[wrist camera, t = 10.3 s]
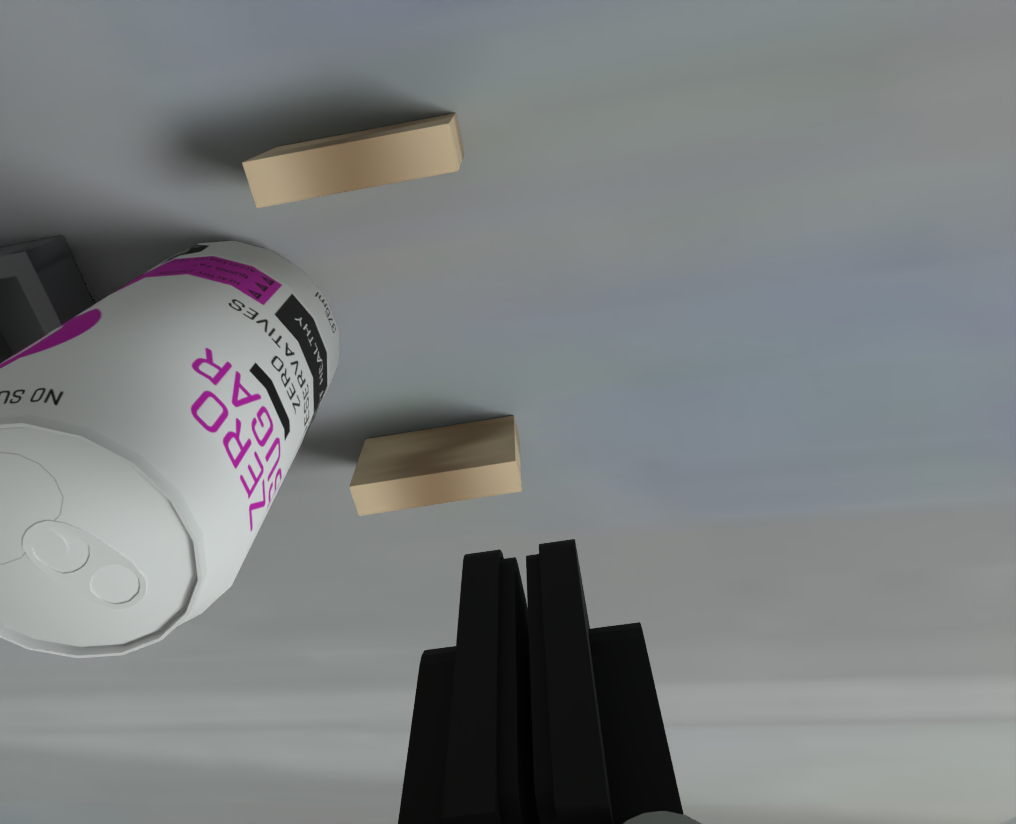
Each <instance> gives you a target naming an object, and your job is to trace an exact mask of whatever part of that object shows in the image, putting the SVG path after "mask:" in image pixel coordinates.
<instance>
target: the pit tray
mask: <svg viewBox="0 0 1016 824" xmlns="http://www.w3.org/2000/svg"><path fill="white" fill-rule="evenodd" d="M93 305H94V302H93V300H92V298H91V296H90V293H89V291H88V289H87V287H86V285H85V283H84V281H83V278H82V276H81V274H80V272H79V270H78V268H77V265H76V263H75V261H74V259H73V257H72V255H71V253H70V250H69V248H68V246H67V244H66V242H65V240H64V237H63V236H57V237H52V238H46V239H41V240H36V241H30V242H25V243H19V244H14V245H9V246H3V247H0V363H2V362H4V361H5V360H7V359H8V358H10V357H11V356H13V355H15V354H16V353H18V352H19V351H21V350H23V349H24V348H26V347H27V346H29V345H31V344H32V343H34V342H35V341H37V340H39V339H40V338H42V337H43V336H45V335H47V334H48V333H50V332H51V331H53V330H55V329H56V328H58V327H59V326H61V325H63V324H64V323H66V322H67V321H69V320H71V319H72V318H74V317H75V316H77V315H78V314H80V313H82V312H83V311H85V310H86V309H88V308H90V307H91V306H93Z"/></svg>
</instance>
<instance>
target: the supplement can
mask: <svg viewBox="0 0 1016 824" xmlns="http://www.w3.org/2000/svg"><path fill="white" fill-rule="evenodd" d="M338 364H339V330H338V328H337V325H336V323H335V320H334V317H333V315H332V312H331V309H330V307H329V304H328V302H327V299H326V298H325V297H324V296H323V294H322V293H321V292H320V291H319V290H318V288H317V287H316V286H315V285H314V283H313V282H312V281H311V280H310V279H309V277H308V276H307V275H306V274H305V273H304V271H302V270H301V269H299V268H298V267H296V266H295V265H293V264H291V263H290V262H288V261H287V260H285V259H284V258H282V257H281V256H279V255H277V254H276V253H274V252H273V251H271V250H268V249H264V248H260V247H256V246H253V245H249V244H245V243H241V242H238V241H223V242H210V243H198V244H196V245H194V246H192V247H190V248H188V249H186V250H184V251H182V252H180V253H178V254H176V255H174V256H172V257H170V258H168V259H166V260H165V261H163V262H161V263H160V264H158V265H157V266H155V267H153V268H152V269H150V270H149V271H147V272H145V273H144V274H142V275H141V276H139V277H137V278H136V279H134V280H133V281H131V282H130V283H128V284H126V285H125V286H123V287H122V288H120V289H118V290H117V291H115V292H114V293H112V294H110V295H109V296H107V297H106V298H104V299H102V300H101V301H99V302H98V303H96V304H94V305H93V306H91V307H90V308H88V309H86V310H85V311H83V312H82V313H80V314H78V315H77V316H75V317H74V318H72V319H71V320H69V321H67V322H66V323H64V324H63V325H61V326H59V327H58V328H56V329H55V330H53V331H51V332H50V333H48V334H47V335H45V336H43V337H42V338H40V339H39V340H37V341H35V342H34V343H32V344H31V345H29V346H27V347H26V348H24V349H23V350H21V351H19V352H18V353H16V354H15V355H13V356H11V357H10V358H8V359H7V360H5V361H4V362H2V363H0V638H3V639H5V640H7V641H10V642H12V643H14V644H17V645H19V646H22V647H24V648H26V649H29V650H35V651H40V652H46V653H51V654H57V655H63V656H68V657H74V658H87V657H102V656H117V655H125V654H127V653H130V652H132V651H135V650H138V649H140V648H143V647H146V646H148V645H151V644H153V643H156V642H159V641H161V640H163V639H164V638H165V637H166V636H167V635H168V634H169V633H170V632H171V631H172V630H173V629H174V628H175V627H177V626H178V625H180V624H182V623H184V622H186V621H188V620H190V619H192V618H194V617H196V616H198V615H200V614H201V613H202V612H204V611H205V610H206V609H207V608H208V607H209V606H210V605H211V604H212V603H213V602H214V601H215V600H217V599H218V598H219V597H220V596H221V595H222V594H223V593H224V592H225V591H226V590H227V589H228V588H230V587H231V586H232V584H233V582H234V580H235V577H236V575H237V573H238V571H239V569H240V567H241V565H242V563H243V561H244V559H245V557H246V555H247V553H248V551H249V549H250V547H251V545H252V543H253V541H254V539H255V537H256V535H257V533H258V531H259V529H260V527H261V525H262V523H263V521H264V519H265V517H266V515H267V512H268V510H269V508H270V506H271V504H272V502H273V500H274V498H275V496H276V494H277V492H278V490H279V488H280V486H281V484H282V482H283V480H284V478H285V476H286V474H287V472H288V470H289V468H290V466H291V464H292V462H293V460H294V458H295V456H296V454H297V452H298V450H299V447H300V445H301V443H302V441H303V439H304V437H305V435H306V433H307V431H308V429H309V427H310V425H311V423H312V421H313V419H314V417H315V415H316V413H317V411H318V409H319V407H320V405H321V403H322V401H323V399H324V397H325V395H326V393H327V391H328V388H329V386H330V383H331V381H332V379H333V376H334V374H335V371H336V369H337V366H338Z"/></svg>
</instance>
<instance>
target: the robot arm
mask: <svg viewBox="0 0 1016 824" xmlns="http://www.w3.org/2000/svg"><path fill="white" fill-rule="evenodd" d="M526 569H527V597H528V608H527V603H526V599H525V594H524V590H523V585H522V581H521V576H520V572H519V567H518V563H517V560H516V558H515V557H514V558H507V559H504V558H503V554H502V552H501V550H494V551H487V552H480V553H473V554H465V556H464V559H463V569H462V582H461V594H460V606H459V618H458V630H457V643H456V646H454V647H446V648H438V649H430V650H425V651H424V652H423V654H422V657H421V661H420V666H419V674H418V681H417V688H416V696H415V703H414V710H413V718H412V725H411V732H410V740H409V747H408V754H407V762H406V769H405V776H404V784H403V791H402V798H401V806H400V813H399V820H398V824H701V823H699V822H697V821H696V820H694V819H692V818H690V817H688V816H686V815H683V810H682V806H681V801H680V797H679V792H678V788H677V783H676V779H675V774H674V770H673V765H672V761H671V756H670V752H669V747H668V743H667V738H666V734H665V729H664V725H663V720H662V716H661V711H660V707H659V702H658V698H657V693H656V689H655V684H654V680H653V676H652V671H651V667H650V662H649V658H648V653H647V649H646V644H645V640H644V635H643V631H642V627H641V624H640V623H631V624H624V625H616V626H608V627H601V628H593V629H590V626H589V620H588V615H587V609H586V603H585V597H584V591H583V585H582V579H581V573H580V567H579V561H578V555H577V549H576V543H575V539H572V540H565V541H558V542H551V543H544V544H539V554H536V555H529V556H526Z"/></svg>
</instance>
